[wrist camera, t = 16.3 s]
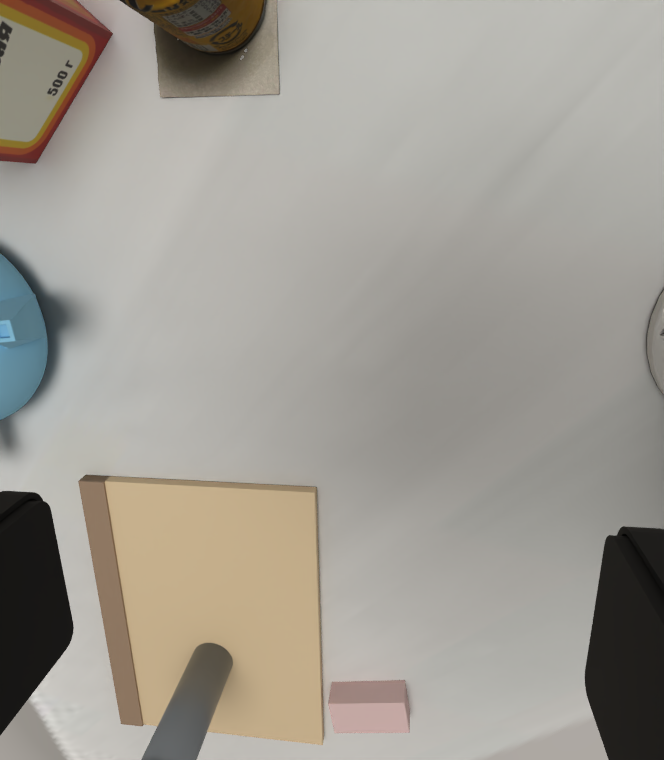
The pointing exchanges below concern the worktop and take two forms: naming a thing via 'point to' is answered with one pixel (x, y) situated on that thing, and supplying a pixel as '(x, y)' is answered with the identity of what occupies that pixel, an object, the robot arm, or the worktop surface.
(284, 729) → the notepad
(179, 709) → the marker
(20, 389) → the teapot
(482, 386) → the worktop surface
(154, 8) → the condiment
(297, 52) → the worktop surface
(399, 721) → the eraser
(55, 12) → the baking soda box
